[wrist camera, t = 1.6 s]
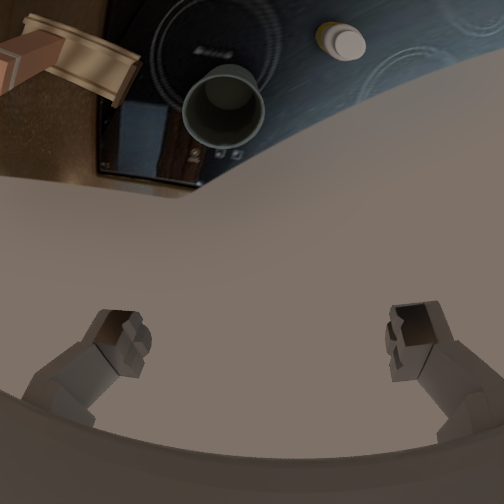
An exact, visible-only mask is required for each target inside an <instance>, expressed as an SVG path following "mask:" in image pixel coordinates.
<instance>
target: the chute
mask: <svg viewBox="0 0 504 504" xmlns="http://www.w3.org/2000/svg"><path fill="white" fill-rule="evenodd" d="M23 23H25V24H26V25H25V28H24V30H23V33H22V35H24V34H27V33H30V32H33V31H36V30H39V29H41V30H44V31H47V32H49V33H52V34H55V35H58V36H60V37H63V38H65V40H64V42H63V45H62V47H61V50H60V52H59V55H58V58H57V60H56V63H55V64H54V65H53V66H51V67H49V68H47V69H45V70H46V71H48V72H50V73H53V74H55V75H57V76H60V77H62V78H64V79H66V80H69V81H71V82H73V83H75V84H78V85H80V86H82V87H84V88H86V89H88V90H91V91H93V92H95V93H97V94H99V95H101V96H103V97H105V98H108V99H110V100H112V101H113V103H112V105H111V106H112V107H114V108H117V107H118V106H119V105H121V104H122V103H123V101H124V99H125V97H126V95H127V93H128V91H129V89H130V87H131V85H132V83H133V81H134V79H135V77H136V75H137V74H138V72H139V70H140V68H141V66H142V64H143V62H141V61H139V59H140V57H141V56H140V55H137V54H135V53H133V52H131V51H129V50H127V49H125V48H122V47H120V46H118V45H116V44H113V43H111V42H109V41H106V40H104V39H102V38H99V37H97V36H94V35H92V34H90V33H87V32H85V31H82V30H79V29H77V28H74V27H71V26H69V25H66V24H63V23H61V22H58V21H55V20H52V19H49V18H46V17H43V16H40V15H37V14H34V13H30V14H29V17H25V18H24V20H23Z"/></svg>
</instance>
